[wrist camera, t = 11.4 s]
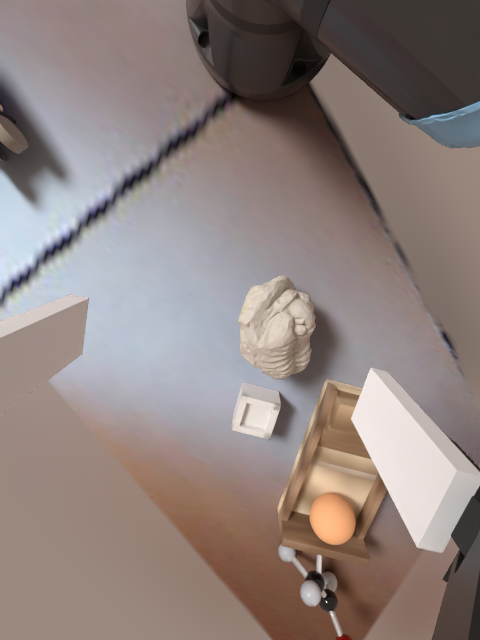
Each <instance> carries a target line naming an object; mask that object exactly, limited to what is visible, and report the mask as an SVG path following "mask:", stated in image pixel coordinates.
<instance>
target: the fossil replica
mask: <svg viewBox="0 0 480 640" xmlns="http://www.w3.org/2000/svg"><path fill="white" fill-rule="evenodd" d="M315 319H316V316H315V314H314V305H313V302H312V300H311V299H310V297H309V295H307V294H305V293H303V292H299V291H297V290H295V286H294V284H293V282H292V281H291V280H290V278H288V277H287V276H278V277H275V278H274V279H272V280H271V281H270V282H267V283H265V284H262V285H256V286H254V287H252V288H251V289H250V290H249V292H248V294H247V297H246V299H245V302H244V305H243V307H242V311H241V314H240V316H239V319H238V323H239V324H240V349H241V355H242V356H243V358H244V359H245V360H247V361H248V362H249V363H250V364H251V365H252V366H254V367H255V368H260V369H261V370H262V372H263V373H265V374H266V375H269V376H270V377H272V378H274V379H285V378H287V377H288V376H289V375H290V374H295V373H299V372H301V371H302V370H304V369H305V368H306V367H307V365H308V362H309V361H310V355H311V351H312V350H311V348H310V342H309V341H310V336H311V335H312V333H313V331H314V329H315V327H316V323H315Z"/></svg>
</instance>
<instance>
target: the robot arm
mask: <svg viewBox="0 0 480 640" xmlns="http://www.w3.org/2000/svg"><path fill="white" fill-rule="evenodd" d="M186 10H187V18H188V23H189V27H190V31H191V34H192V38H193V41H194V45H195V47H196V50H197V52H198V55H199V57H200V59H201V61H202V63H203V64H204V66H205V67H206V69H207V70H208V72H209V73H210V74H211V75H212V77H213V78H214V79H215V80H216V81H217V82H218V83H220V84H221V85H222V86H223V87H225V88H226V89H227V90H229V91H231V92H232V93H234V94H236V95H239V96H241V97H244V98H248V99H253V100H273V99H278V98H282V97H285V96H288V95H290V94H292V93H294V92H296V91H298V90H299V89H301V88H302V87H304V86H305V85H306V84H307V83H309V82H310V81H311V80H312V79H313V78H314V77H315V76H316V75H317V74H318V72H319V71H320V70H321V68H322V67H323V66H324V64H325V63H326V61H327V59H328V58H329V56H330V54H331V53H332V54H333V55H334V56H335V57H337V59H339V60H340V61H341V62H342V63H343V64H344V65H345V66H347V67H348V68H349V69H350V70H351V71H352V72H353V73H355V74H356V75H357V76H358V77H359V78H360V79H361V80H363V81H364V82H365V83H366V84H367V85H368V86H369V87H370V88H372V89H373V90H374V91H375V92H376V93H377V94H378V95H380V96H381V97H382V98H383V99H384V100H385V101H386V102H388V103H389V104H390V105H391V106H392V107H393V108H394V109H396V110H397V111H398V112H399V116H400V118H401V119H402V120H404V121H405V122H407V123H408V124H412V125H416V126H417V127H419V128H420V129H421V130H423V131H424V132H425V133H426V134H428V135H429V136H430V137H432V138H433V139H434V140H435V141H437V142H438V143H440V144H441V145H444V146H446V147H449V148H462V147H466V148H472V147H477V146H480V0H186ZM88 302H89V298H86V297H82V296H78V295H74V294H71V295H68V296H65V297H63V298H60V299H58V300H55V301H52V302H50V303H47V304H45V305H42V306H39V307H37V308H34V309H31V310H29V311H26V312H24V313H21V314H18V315H16V316H13V317H10V318H8V319H5V320H3V321H0V416H1V415H3V414H4V413H5V412H6V411H8V410H9V409H11V407H13V406H14V405H16V404H17V403H18V402H20V401H21V400H22V399H24V398H25V397H26V396H28V395H29V394H30V393H32V392H33V391H34V390H35V389H37V388H38V387H39V386H41V385H42V384H43V383H45V382H46V381H47V380H49V379H50V378H51V377H53V376H54V375H55V374H57V373H58V372H59V371H61V370H62V369H63V368H65V367H66V366H67V365H68V364H70V363H71V362H72V361H74V360H75V359H76V358H78V357H79V356H80V355H82V351H83V343H84V335H85V326H86V318H87V310H88ZM351 420H352V422H353V424H354V426H355V428H356V430H357V432H358V433H359V435H360V437H361V439H362V441H363V443H364V445H365V447H366V449H367V451H368V453H369V455H370V457H371V459H372V461H373V463H374V465H375V467H376V468H377V470H378V472H379V474H380V476H381V478H382V480H383V482H384V484H385V486H386V488H387V490H388V492H389V494H390V496H391V498H392V500H393V502H394V504H395V505H396V507H397V509H398V511H399V513H400V515H401V517H402V519H403V521H404V523H405V525H406V527H407V529H408V531H409V533H410V535H411V537H412V539H413V540H414V542H415V544H416V546H417V548H422V549H426V550H431V551H435V552H440V553H443V551H444V549H445V547H446V545H447V544H448V542H449V540H450V538H451V537H452V538H453V540H454V541H455V543H456V544H457V546H458V547H459V549H460V550H459V551H458V553H457V555H456V557H455V558H454V560H453V562H452V564H451V565H450V567H449V569H448V571H447V572H446V574H445V576H444V578H443V580H444V581H446V582H447V587H446V590H445V594H444V597H443V601H442V605H441V608H440V612H439V615H438V619H437V623H436V626H435V630H434V634H433V637H432V640H480V468H479V467H478V466H477V465H476V464H474V462H473V461H472V459H471V458H470V457H469V456H467V455H466V453H465V452H464V451H463V450H462V449H461V448H460V447H459V446H458V445H457V444H456V443H455V442H454V441H452V440H451V439H450V438H448V437H447V436H446V435H445V434H444V433H443V432H442V431H441V430H440V429H439V427H438V426H437V425H436V424H435V423H434V422H433V421H432V420H431V419H430V418H429V417H428V416H427V414H426V413H425V412H424V411H423V410H422V409H421V408H420V407H419V406H418V405H417V404H416V403H415V401H414V400H413V399H412V398H411V397H410V396H409V395H408V394H407V393H406V392H405V391H404V390H403V389H402V387H401V386H400V385H399V384H398V383H397V382H396V381H395V380H394V379H393V378H392V377H391V376H390V374H389V373H388V372H387V371H382V370H378V369H374V368H371V369H370V371H369V374H368V376H367V379H366V381H365V384H364V386H363V389H362V392H361V394H360V397H359V399H358V402H357V404H356V407H355V409H354V412H353V415H352V417H351Z"/></svg>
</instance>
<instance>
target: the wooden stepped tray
mask: <svg viewBox="0 0 480 640" xmlns="http://www.w3.org/2000/svg"><path fill="white" fill-rule="evenodd" d="M362 389H363V388H360V387H356V386H352V385H348V384H345V383H341V382H337V381H333V380H329V379H326V380H325V383H324V386H323V388H322V391H321V394H320V396H319V399H318V402H317V404H316V407H315V410H314V412H313V415H312V418H311V420H310V423H309V426H308V428H307V431H306V434H305V436H304V439H303V442H302V444H301V447H300V450H299V452H298V455H297V457H296V460H295V463H294V465H293V468H292V471H291V473H290V476H289V479H288V481H287V484H286V487H285V489H284V492H283V495H282V497H281V500H280V503H279V505H278V517H279V527H280V537H281V546H284V547H288V548H292V549H296V550H300V551H304V552H309V553H313V554H317V555H321V556H325V557H329V558H334V559H338V560H342V561H346V562H350V563H354V564H359V565H363V566H367V567H368V565H369V563H370V561H371V559H370V556H369V554H368V551H367V548H366V545H365V543H364V540H363V539H364V537H365V535H366V533H367V531H368V529H369V527H370V525H371V523H372V521H373V518H374V516H375V514H376V512H377V510H378V508H379V506H380V504H381V502H382V500H383V498H384V495H385V493H386V491H387V488H386V486H385V484H384V482H383V480H382V478H381V476H380V474H379V472H378V470H377V468H376V467H375V465H374V463H373V461H372V459H371V457H370V455H369V453H368V451H367V449H366V447H365V445H364V443H363V441H362V439H361V437H360V435H359V433H358V432H357V430H356V428H355V426H354V424H353V422H352V420H351V417H352V415H353V412H354V409H355V407H356V404H357V402H358V399H359V397H360V394H361V392H362ZM326 493H333V494H337V495H339V496H341V497H343V498H344V499H345V500H346V501H347V502H348V503H349V504H350V506H351V507H352V509H353V512H354V515H355V520H356V525H355V530H354V533H353V535H352V537H351V538H350V539H349V540H348V541H347V542H345V543H343V544H340V545H331V544H328V543H326V542H324V541H322V540H321V539H320V538H319V537H318V536H317V535H316V534H315V532H314V530H313V529H312V526H311V523H310V508H311V506H312V503H313V502H314V500H315V499H316V498H317V497H319V496H320V495H322V494H326Z"/></svg>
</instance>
